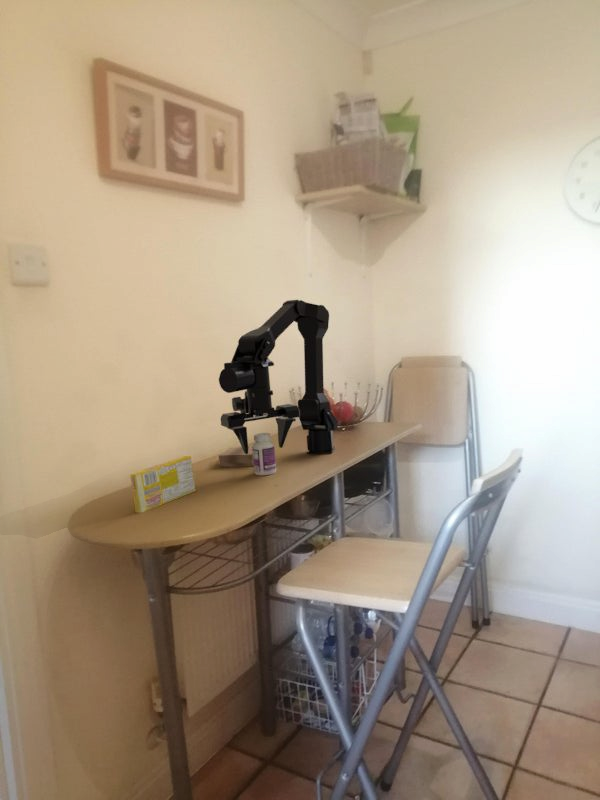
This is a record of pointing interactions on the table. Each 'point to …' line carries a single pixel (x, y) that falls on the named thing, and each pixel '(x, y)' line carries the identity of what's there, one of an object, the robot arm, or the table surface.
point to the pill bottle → (263, 454)
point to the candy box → (162, 483)
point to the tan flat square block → (236, 457)
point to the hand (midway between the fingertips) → (263, 450)
